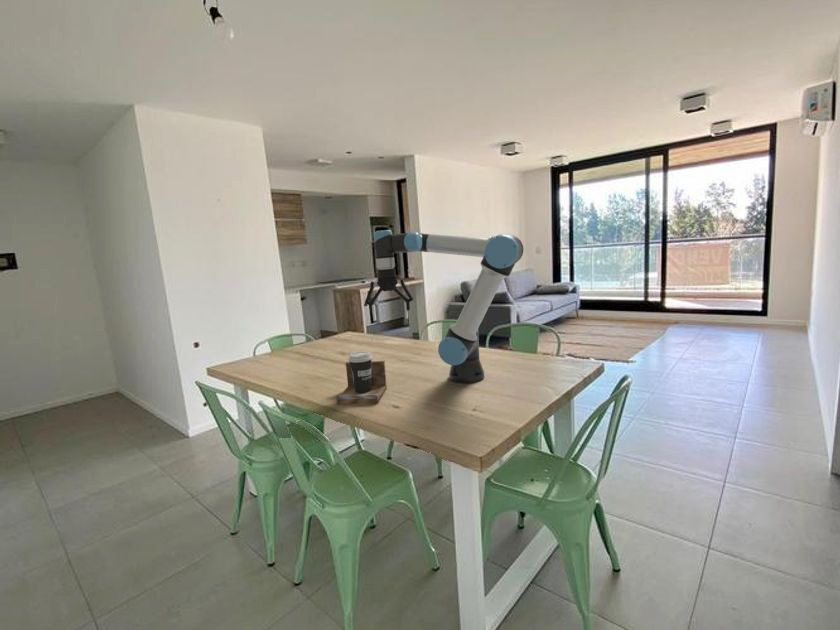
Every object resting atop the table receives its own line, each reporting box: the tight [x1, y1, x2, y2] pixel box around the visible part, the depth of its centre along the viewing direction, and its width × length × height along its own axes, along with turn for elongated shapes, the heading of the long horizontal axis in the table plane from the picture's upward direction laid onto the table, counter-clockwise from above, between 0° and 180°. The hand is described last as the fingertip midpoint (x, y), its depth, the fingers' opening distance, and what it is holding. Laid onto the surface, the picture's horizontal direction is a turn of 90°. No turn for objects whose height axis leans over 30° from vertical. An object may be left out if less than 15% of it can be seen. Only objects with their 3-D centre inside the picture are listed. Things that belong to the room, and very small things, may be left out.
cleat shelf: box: [335, 360, 388, 405], centre depth 168 cm, size 16×17×12 cm
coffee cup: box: [347, 351, 373, 393], centre depth 169 cm, size 10×10×15 cm
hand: (390, 319), depth 177 cm, fingers open, 13 cm apart
